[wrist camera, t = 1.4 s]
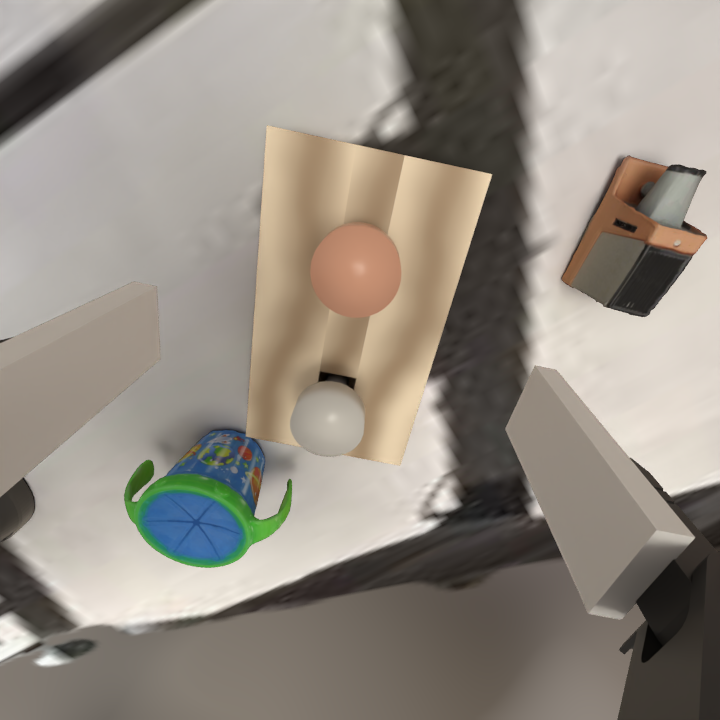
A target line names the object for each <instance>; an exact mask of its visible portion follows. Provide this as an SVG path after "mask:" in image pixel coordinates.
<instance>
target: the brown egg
mask: <svg viewBox="0 0 720 720" xmlns="http://www.w3.org/2000/svg"><path fill="white" fill-rule="evenodd" d="M310 277H311V282H312V286H313V289H314V291H315V293H316V295H317V296H318V298H319V299H320V300H321V302H322V303H323V304H324V305H325V306H326V307H328V308H329V309H330V310H332V311H333V312H335V313H337V314H340V315H342V316H346V317H352V318H362V317H367V316H371V315H374V314H376V313H378V312H380V311H381V310H383V309H384V308H385V307H387V306H388V305H389V304H390V302H391V301H392V300H393V299H394V297H395V295H396V294H397V291H398V289H399V286H400V282H401V264H400V258H399V253H398V251H397V248H396V246H395V244H394V242H393V241H392V239H391V238H390V237H389V236H388V235H387V234H386V233H385V232H384V231H383V230H381V229H380V228H378V227H376V226H374V225H371V224H368V223H363V222H352V223H347V224H343V225H341V226H339V227H337V228H335V229H334V230H332V231H331V232H330V233H329V234H328V235H327V236H326V237H325V238H324V239H323V240H322V242H321V243H320V244H319V246H318V247H317V249H316V250H315V252H314V255H313V257H312V261H311V266H310Z"/></svg>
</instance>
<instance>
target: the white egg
mask: <svg viewBox="0 0 720 720" xmlns="http://www.w3.org/2000/svg"><path fill="white" fill-rule="evenodd" d="M348 384H349V379H348V377H347V376H342V375H337V374H332V373H329V374H328V375H327V376H326V379H325V381H323V382H318V383H315V384H312V385H310V386H308V387H307V388H306V389H304V390H303V391H302V393H301V394H300V395H299V397H298V399H297V402H296V405H295V407H294V410H293V413H292V415H291V419H290V429H291V433H292V435H293V437H294V439H295V440H296V441H297V443H298V444H299V445H300V446H301V447H303V448H304V449H306V450H307V451H309V452H311V453H313V454H316V455H320V456H326V457H333V456H340V455H343V454H346V453H348V452H350V451H352V450H353V449H354V448H355V447H356V446H357V445H358V444H359V443H360V441H361V439H362V437H363V433H364V423H365V406H364V403H363V401H362V399H361V398H360V396H359V395H358V394H357V393H356V392H355V391H354V390H353V389H352V388H350V387H348Z"/></svg>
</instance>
